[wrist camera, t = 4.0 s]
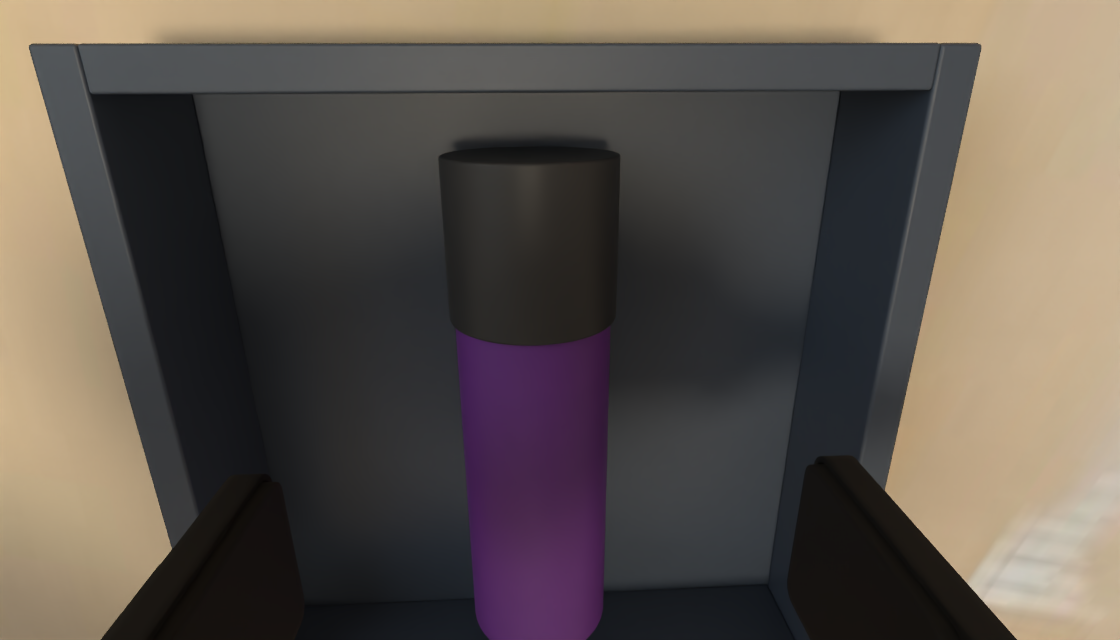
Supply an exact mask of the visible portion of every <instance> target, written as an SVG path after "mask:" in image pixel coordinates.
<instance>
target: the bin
mask: <svg viewBox="0 0 1120 640" xmlns="http://www.w3.org/2000/svg"><path fill="white" fill-rule="evenodd" d="M29 50H30V53H31V57H32V60H33V64H34V67H35V71H36V74H37V78H38V81H39V85H40V88H41V92H42V95H43V99H44V102H45V106H46V109H47V113H48V116H49V120H50V123H51V127H52V130H53V134H54V137H55V141H56V144H57V148H58V151H59V155H60V158H61V162H62V165H63V169H64V172H65V176H66V179H67V183H68V186H69V190H70V193H71V197H72V200H73V204H74V207H75V211H76V214H77V218H78V221H79V225H80V228H81V232H82V235H83V239H84V242H85V246H86V249H87V253H88V256H89V260H90V263H91V267H92V270H93V274H94V277H95V281H96V284H97V288H98V291H99V295H100V298H101V302H102V305H103V309H104V312H105V316H106V319H107V323H108V326H109V330H110V333H111V337H112V340H113V344H114V347H115V351H116V354H117V358H118V361H119V365H120V368H121V372H122V375H123V379H124V382H125V386H126V389H127V393H128V396H129V400H130V403H131V407H132V410H133V414H134V417H135V421H136V424H137V428H138V431H139V435H140V438H141V442H142V445H143V449H144V452H145V456H146V459H147V463H148V466H149V470H150V473H151V477H152V480H153V484H154V487H155V491H156V494H157V498H158V501H159V505H160V508H161V512H162V515H163V519H164V522H165V526H166V529H167V533H168V536H169V540H170V543H171V547H172V549H173V548H174V546H175V545H176V544H177V543H178V541H179V540H180V539H181V537H182V536H183V535H184V534H185V532H186V531H187V530H188V528H189V527H190V526H191V525H192V523H193V522H194V521H195V519H196V518H197V517H198V516H199V514H200V513H201V512H202V510H203V509H204V508H205V507H206V505H207V504H208V503H209V501H210V500H211V499H212V498H213V496H214V495H215V494H216V492H217V491H218V490H219V489H220V487H221V486H222V485H223V483H224V482H225V481H226V480H227V479H228V478H229V477H230V476H231V475H239V474H267V475H269V476H270V478H271V480H272V482H279V483H280V485H281V487H282V490H283V495H284V500H285V505H286V510H287V515H288V520H289V525H290V530H291V535H292V540H293V545H294V550H295V555H296V560H297V565H298V570H299V575H300V580H301V585H302V590H303V595H304V601H305V609H304V615H303V620H302V623H301V625H300V628H299V630H298V632H297V635H296V637H295V639H294V640H490V639H489V638H488V637H487V636H486V635H485V634H484V632H483V631H482V629H481V628H480V626H479V623H478V621H477V617H476V612H475V598H474V584H473V570H472V556H471V541H470V527H469V513H468V499H467V484H466V470H465V456H464V442H463V427H462V413H461V399H460V385H459V370H458V356H457V342H456V328H455V327H454V326H453V325H452V323H451V320H450V313H449V300H448V286H447V272H446V259H445V245H444V231H443V218H442V204H441V190H440V177H439V163H438V158H439V156H440V155H442V154H444V153H447V152H452V151H459V150H467V149H479V148H496V147H579V148H593V149H603V150H609V151H614V152H617V153H619V154H620V156H621V162H620V196H619V230H618V264H617V299H616V317H615V320H614V322H613V323H612V324H611V329H610V368H609V406H608V444H607V482H606V520H605V558H604V597H603V612H602V616H601V619H600V621H599V623H598V625H597V627H596V629H595V630H594V631H593V633H592V634H591V635H590V636H589V637H588V638H587V639H586V640H810V638H809V636H808V634H807V632H806V630H805V628H804V627H803V625H802V623H801V621H800V619H799V617H798V615H797V613H796V611H795V609H794V607H793V605H792V603H791V601H790V598H789V595H788V589H787V577H788V571H789V565H790V559H791V553H792V547H793V541H794V534H795V528H796V522H797V516H798V510H799V504H800V498H801V492H802V486H803V480H804V474H805V470H806V467H807V466H808V465H811V464H814V462H815V460H816V458H817V457H819V456H838V455H850V456H853V457H854V458H856V459H857V460H858V462H859V463H860V464H861V465H862V466H863V467H864V468H865V469H866V471H867V472H868V473H869V474H870V475H871V476H872V477H873V478H874V480H875V481H876V482H877V483H878V484H879V485H880V486H881V487H882V489H883V490H884V491H885V486H886V482H887V477H888V473H889V468H890V464H891V459H892V454H893V450H894V445H895V441H896V436H897V432H898V427H899V422H900V418H901V413H902V409H903V404H904V400H905V395H906V390H907V386H908V381H909V377H910V372H911V368H912V363H913V358H914V354H915V349H916V345H917V340H918V336H919V331H920V326H921V322H922V317H923V313H924V308H925V304H926V299H927V294H928V290H929V285H930V281H931V276H932V272H933V267H934V262H935V258H936V253H937V249H938V244H939V240H940V235H941V230H942V226H943V221H944V217H945V212H946V208H947V203H948V198H949V194H950V189H951V185H952V180H953V176H954V171H955V166H956V162H957V157H958V153H959V148H960V144H961V139H962V134H963V130H964V125H965V121H966V116H967V112H968V107H969V102H970V98H971V93H972V89H973V84H974V80H975V75H976V70H977V66H978V61H979V57H980V52H981V45H980V44H978V43H940V44H938V43H199V44H31V45H29Z"/></svg>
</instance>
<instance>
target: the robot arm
mask: <svg viewBox="0 0 1120 640" xmlns="http://www.w3.org/2000/svg"><path fill="white" fill-rule="evenodd" d="M787 589H788V595H789V598H790V601H791V603H792V605H793V607H794V609H795V611H796V613H797V615H798V617H799V619H800V621H801V623H802V625H803V627H804V628H805V630H806V632H807V634H808V636H809V638H810V640H1017V639H1016V638H1015V637H1014V636H1013V635H1012V634H1011V632H1010V631H1009V630H1008V629H1007V628H1006V627H1005V626H1004V625H1003V623H1002V622H1001V621H1000V620H999V619H998V618H997V617H996V616H995V615H994V613H993V612H992V611H991V610H990V609H989V608H988V607H987V606H986V604H985V603H984V602H983V601H982V600H981V599H980V598H979V597H978V595H977V594H976V593H975V592H974V591H973V590H972V589H971V588H970V586H969V585H968V584H967V583H966V582H965V581H964V580H963V579H962V577H961V576H960V575H959V574H958V573H957V572H956V571H955V570H954V568H953V567H952V566H951V565H950V564H949V563H948V562H947V561H946V559H945V558H944V557H943V556H942V555H941V554H940V553H939V552H938V550H937V549H936V548H935V547H934V546H933V545H932V544H931V543H930V541H929V540H928V539H927V538H926V537H925V536H924V535H923V534H922V532H921V531H920V530H919V529H918V528H917V527H916V526H915V525H914V523H913V522H912V521H911V520H910V519H909V518H908V517H907V516H906V514H905V513H904V512H903V511H902V510H901V509H900V508H899V507H898V505H897V504H896V503H895V502H894V501H893V500H892V499H891V498H890V496H889V495H888V494H887V493H886V492H885V491H884V490H883V489H882V487H881V486H880V485H879V484H878V483H877V482H876V481H875V480H874V478H873V477H872V476H871V475H870V474H869V473H868V472H867V471H866V469H865V468H864V467H863V466H862V465H861V464H860V463H859V462H858V460H857V459H856V458H854V457H853V456H850V455H838V456H819V457H817V458H816V460H815V462H814V464H811V465H808V466H807V467H806V470H805V474H804V480H803V486H802V492H801V498H800V504H799V510H798V516H797V522H796V528H795V534H794V541H793V547H792V553H791V559H790V565H789V571H788V577H787ZM304 609H305V601H304V595H303V590H302V585H301V580H300V575H299V570H298V565H297V560H296V555H295V550H294V545H293V540H292V535H291V530H290V525H289V520H288V515H287V510H286V505H285V500H284V495H283V490H282V487H281V485H280V483H279V482H272V480H271V478H270V476H269V475H267V474H239V475H231V476H230V477H229V478H228V479H227V480H226V481H225V482H224V483H223V485H222V486H221V487H220V489H219V490H218V491H217V492H216V494H215V495H214V496H213V498H212V499H211V500H210V501H209V503H208V504H207V505H206V507H205V508H204V509H203V510H202V512H201V513H200V514H199V516H198V517H197V518H196V519H195V521H194V522H193V523H192V525H191V526H190V527H189V528H188V530H187V531H186V532H185V534H184V535H183V536H182V537H181V539H180V540H179V541H178V543H177V544H176V545H175V546H174V548H173V549H172V550H171V552H170V553H169V554H168V555H167V557H166V558H165V559H164V561H163V562H162V563H161V564H160V565H159V566H158V567H157V568H156V570H155V571H154V572H153V573H152V575H151V576H150V577H149V579H148V580H147V581H146V582H145V584H144V585H143V586H142V588H141V589H140V590H139V591H138V593H137V594H136V595H135V597H134V598H133V599H132V600H131V602H130V603H129V604H128V606H127V607H126V608H125V609H124V611H123V612H122V613H121V614H120V616H119V617H118V618H117V620H116V621H115V622H114V623H113V625H112V626H111V627H110V629H109V630H108V631H107V632H106V634H105V635H104V636H103V638H102V639H101V640H294V639H295V637H296V635H297V632H298V630H299V628H300V625H301V623H302V620H303V615H304Z"/></svg>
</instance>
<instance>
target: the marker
mask: <svg viewBox="0 0 1120 640" xmlns="http://www.w3.org/2000/svg"><path fill="white" fill-rule="evenodd" d="M620 162H621V156H620V154H619V153H617V152H614V151H609V150H603V149H593V148H579V147H496V148H479V149H467V150H459V151H452V152H447V153H444V154H442V155H440V156H439V158H438V163H439V177H440V190H441V204H442V218H443V231H444V245H445V259H446V272H447V286H448V300H449V313H450V320H451V323H452V325H453V326H454V327H455V328H456V342H457V356H458V370H459V385H460V399H461V413H462V427H463V442H464V456H465V470H466V484H467V499H468V513H469V527H470V541H471V556H472V570H473V584H474V598H475V612H476V617H477V621H478V623H479V626H480V628H481V629H482V631H483V632H484V634H485V635H486V636H487V637H488V638H489V639H490V640H586V639H587V638H588V637H589V636H590V635H591V634H592V633H593V631H594V630H595V629H596V627H597V625H598V623H599V621H600V619H601V616H602V612H603V597H604V558H605V520H606V482H607V444H608V406H609V368H610V329H611V324H612V323H613V322H614V320H615V317H616V299H617V264H618V230H619V196H620Z"/></svg>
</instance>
